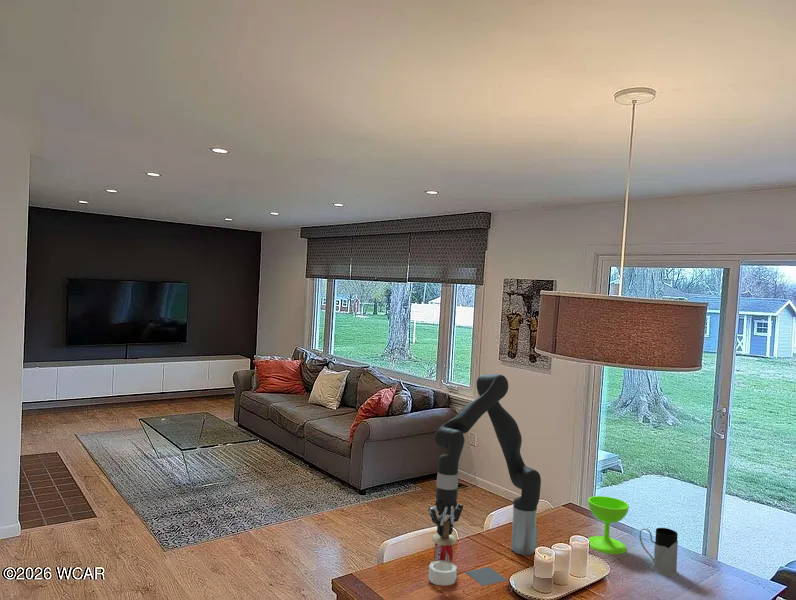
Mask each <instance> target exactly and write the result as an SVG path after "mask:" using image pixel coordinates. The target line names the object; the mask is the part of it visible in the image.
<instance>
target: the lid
mask: <svg viewBox="0 0 796 600" xmlns="http://www.w3.org/2000/svg"><path fill="white" fill-rule="evenodd" d="M449 526H450V520H448V519H447V518H445V519H444V522H443V536H440V535H438V533H437V532H436V533H434V534H432V541H433V543H434V544H435V543H437V544H439V545H446V546H448V545H454V546H455V545H456V544H457V536H455V535H454V534H453V533H452V534H451V535H449Z"/></svg>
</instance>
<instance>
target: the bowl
mask: <svg viewBox="0 0 796 600" xmlns="http://www.w3.org/2000/svg"><path fill="white" fill-rule="evenodd" d="M457 572H458V566H456V565H455V564H454V562H453V563H451V562H448V561H442V560H439V561H434V560H433V561H431V562H430V564H429V566H428V575H427V577H428V579H429V580H430V581H429V582H430V583H431V584H432V583H433V584H432V585H434V584H435V585H434V586H437V585H438V586H451V585H453V584H455V583H456V580H457Z"/></svg>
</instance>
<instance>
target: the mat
mask: <svg viewBox="0 0 796 600" xmlns="http://www.w3.org/2000/svg"><path fill="white" fill-rule="evenodd" d="M464 573H465V574H467V576H469V577H470V578H472V579H473V580H475V581H476V582H477V583H479V584H480V585H481V586H482V587H484V586H489V585H494V584H497V583H503V582H505V581H508V579H507V578H506V577H504V576H503V575H501V574H500V573H498V572H497V571H496V570H494V568H492V567H490V566H487V567H482V568H478V569H472V570H467V571H464Z"/></svg>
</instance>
